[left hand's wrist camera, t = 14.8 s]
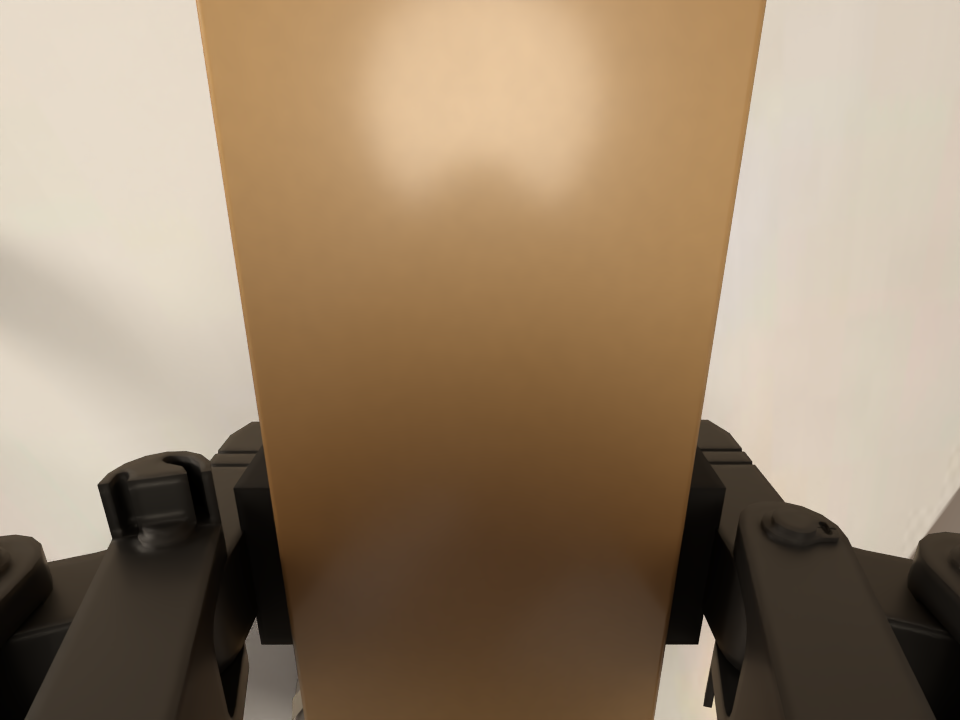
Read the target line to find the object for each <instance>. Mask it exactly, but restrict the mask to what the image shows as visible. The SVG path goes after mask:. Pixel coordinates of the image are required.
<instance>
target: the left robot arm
mask: <svg viewBox="0 0 960 720" xmlns="http://www.w3.org/2000/svg"><path fill="white" fill-rule="evenodd" d="M98 489H99V492H100V496H101V499H102V503H103V507H104V510H105V514H106V517H107V521H108V525H109V528H110V532H111V535H112V541H111V543H110V545H109V547H108V549H107V550H104V551H100V552H97V553H92V554H87V555H82V556H77V557H72V558H67V559H62V560H57V561H52V562H47V560H46V557H45V554H44V551H43V548H42V545H41V544H40V543H39V542H38V541H37V540H35V539H34V538H33V537H28V536H21V535H9V536H0V720H243V714H244V706H245V698H246V690H247V681H248V673H249V663H248V656H247V650H246V645H245V640H246V638H247V635H248V633H249V631H250V629H251V627H252V624H253V622H254V620H255V618H256V617H257V623H258V628H259V634H260V639H261V645H285V644H293V639H292V633H291V626H290V620H289V613H288V606H287V600H286V593H285V587H284V580H283V573H282V567H281V560H280V553H279V547H278V540H277V534H276V527H275V520H274V514H273V507H272V501H271V494H270V487H269V481H268V474H267V468H266V461H265V454H264V448H263V441H262V435H261V428H260V422H251V423H249V424H248V425H246V426H245V427H243V428H241V429H240V430H238V431H236V432H235V433H233V434H232V435H230V436H229V438H228V439H227V440H226V441H225V443H224V444H223V445H222V446H221V448H220V449H219V450H218V454H215V455H214V457H213V458H212V459H211V460H210V461H209V460H208V459H206V458H205V457H204V456H203V455H201V454H197V453H192V452H187V451H176V452H163V453H158V454H153V455H148V456H144V457H142V458H139V459H136V460H133V461H131V462H128V463H125V464H124V465H122V466H120V467H118V468H117V469H115V470H113V471H112V472H110V473H108V474H107V475H106V476H105V477H104V478H103V479H102V481H101V482H100V483H99V484H98ZM703 615H704V616H705V618H706V620H707V622H708V624H709V627H710V629H711V631H712V633H713V635H714V638H715V645H714V650H713V656H712V661H711V666H710V671H709V676H708V681H707V687H706V692H705V698H704V705H703V706H705V707H710V708H712V703H713V698H714V696H715V705H716V713H717V720H960V534H959V533H950V532H941V533H934V534H928V535H927V536H925V537H924V538H923V539H922V540H920V541H919V543H918V546H917V549H916V552H915V555H914V558H913V560H911V559H906V558H901V557H896V556H891V555H886V554H881V553H876V552H871V551H866V550H862V549H858V548H854V547H852V546H851V544H850V542H849V540H848V538H847V537H846V535H845V534H844V533H843V532H842V530H841V529H840V528H839V527H838V526H837V525H836V524H834V523H833V522H832V521H830V520H829V519H827V518H826V517H824V516H823V515H821V514H819V513H817V512H814V511H812V510H810V509H807V508H805V507H803V506H799V505H794V504H790V503H786V502H784V500H783V499H782V498H781V497H780V495H779V494H778V493H777V492H776V491H775V489H774V488H773V487H772V486H771V484H770V483H769V482H768V481H767V479H766V478H765V477H764V476H763V474H762V473H761V472H760V471H759V469H758V468H757V467H756V466H755V465H752V461H751V459H750V458H749V457H748V456H747V454H746V453H745V452H742V448H741V447H740V446H739V444H738V443H737V442H736V441H735V439H734V438H733V437H732V436H731V434H730V433H728V432H727V431H725V430H724V429H722V428H720V427H719V426H717V425H715V424H714V423H712V422H711V421H709V420H701V421H700V428H699V434H698V441H697V447H696V453H695V460H694V466H693V472H692V479H691V485H690V492H689V498H688V504H687V511H686V517H685V524H684V530H683V536H682V543H681V549H680V555H679V562H678V568H677V575H676V581H675V587H674V594H673V600H672V607H671V613H670V619H669V626H668V632H667V638H666V644H698V643H699V637H700V632H701V626H702V621H703ZM294 718H295V719H296V720H305V719H304V712H303V706H302V699H301V692H300V686H299V679H298V680H297V685H296V694H295V697H294V698H293V699H292V720H293V719H294Z"/></svg>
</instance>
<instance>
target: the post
mask: <svg viewBox="0 0 960 720" xmlns="http://www.w3.org/2000/svg"><path fill="white" fill-rule="evenodd" d="M196 5H197V11H198V18H199V25H200V31H201V38H202V45H203V51H204V58H205V64H206V71H207V78H208V84H209V91H210V97H211V104H212V111H213V117H214V124H215V130H216V137H217V144H218V150H219V157H220V164H221V170H222V177H223V183H224V190H225V197H226V203H227V210H228V216H229V223H230V230H231V236H232V243H233V249H234V256H235V263H236V269H237V276H238V282H239V289H240V296H241V302H242V309H243V316H244V322H245V329H246V335H247V342H248V349H249V355H250V362H251V368H252V375H253V382H254V388H255V395H256V401H257V408H258V415H259V421H260V428H261V435H262V441H263V448H264V454H265V461H266V468H267V474H268V481H269V487H270V494H271V501H272V507H273V514H274V520H275V527H276V534H277V540H278V547H279V553H280V560H281V567H282V573H283V580H284V587H285V593H286V600H287V606H288V613H289V620H290V626H291V633H292V639H293V646H294V653H295V659H296V666H297V672H298V679H299V686H300V692H301V699H302V706H303V712H304V719H305V720H654V715H655V709H656V702H657V696H658V690H659V683H660V677H661V670H662V664H663V658H664V651H665V645H666V638H667V632H668V626H669V619H670V613H671V607H672V600H673V594H674V587H675V581H676V575H677V568H678V562H679V555H680V549H681V543H682V536H683V530H684V524H685V517H686V511H687V504H688V498H689V492H690V485H691V479H692V472H693V466H694V460H695V453H696V447H697V441H698V434H699V428H700V421H701V415H702V409H703V402H704V396H705V390H706V383H707V377H708V370H709V364H710V358H711V351H712V345H713V338H714V332H715V326H716V319H717V313H718V307H719V300H720V294H721V287H722V281H723V275H724V268H725V262H726V255H727V249H728V243H729V236H730V230H731V224H732V217H733V211H734V204H735V198H736V192H737V185H738V179H739V172H740V166H741V160H742V153H743V147H744V141H745V134H746V128H747V121H748V115H749V109H750V102H751V96H752V90H753V83H754V77H755V70H756V64H757V58H758V51H759V45H760V38H761V32H762V26H763V19H764V13H765V7H766V0H196Z"/></svg>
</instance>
